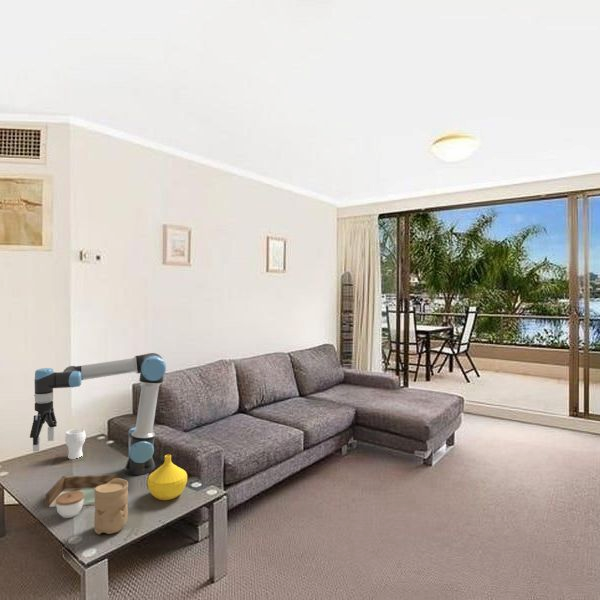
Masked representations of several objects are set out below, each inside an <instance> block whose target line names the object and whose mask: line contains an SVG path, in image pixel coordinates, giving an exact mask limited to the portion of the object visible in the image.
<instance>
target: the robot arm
mask: <svg viewBox="0 0 600 600" xmlns="http://www.w3.org/2000/svg"><path fill="white" fill-rule="evenodd" d="M166 371H167V365H166V362H165V360H164V359H163V357H162V356H161V355H160V354H158V353H155V352H151V353H149V352H148V353H145V354H139V355H134V357H133V358H132V357H131V358H126V359H125V358H124V359H119V360H118V359H117V360H113V361H112V360H111V361H106V362H105V361H104V362H97V363H91V364H84V365H76V366H75V365H70V366H68V367H65V369H63V371H59V372H56V371H55V372H54V369H53V368H51V367H44V368H39V369H36V370H35V371H34V379H33V380H34V394H33V396H34V402H35V403H34V411H35V412H37V414H36V415H34V416H33V420H32V425H31V429H30V434H29V438H30V439H32V452H35V453H36V452H41V436H40V433H41V432H42V429H43V425H44V424H45V423H46V424H47V426H48V427H47V441H49V442H53V441H55V427H57V419H56V416H55V411H54V389H64V388H77V387H80V386H81V385H82V381H86V380H90V379H91V380H92V379H98V378H106V377H111V376H119V375H125V374H132V373H135V374H137V375H138V374H139V382H140V383H141V388H140V389H141V390H140V395H139V400H138V401H139V403H138V407H137V416H136V422H135V427H131V428H130V429H129V430H128V456H127V460H126V463H125V465H124V472H125V474H127V475H129V476H141V475H145V474H148V473H150V472H151V473H152V471H153V470H155V461H154V459H153V455H154V452H155V446H154V444H155V439H156V433H155V432H154V424H155V416H156V410H157V409H156V408H157V404H158V396H159V390H160V389H159V388H160V385H162V384H163V382H164V378H165V374H166Z"/></svg>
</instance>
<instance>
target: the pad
mask: <svg viewBox="0 0 600 600" xmlns="http://www.w3.org/2000/svg"><path fill="white" fill-rule="evenodd" d="M80 492H83V493H84V501H83V503H95V488H84V489H81V490H80Z"/></svg>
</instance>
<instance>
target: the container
mask: <svg viewBox="0 0 600 600" xmlns="http://www.w3.org/2000/svg"><path fill="white" fill-rule="evenodd" d="M128 488H129V481H128V480H126V479H124V478H120V477H118V478H116V479H112V480H111V481H110V482H108V483H107V484H104V485H100V486H98V487H96V488H95V505H94V522H93V523H94V532H95V533H96V534H97V535H99V536H100V535H102V533H105V534H106V535H112V534H116V533H118V532H119V531H121V529H123V527H124V526H125V525H126V523H127V522H128V517H129V509H128V508H129V505H128V500H129V490H128Z"/></svg>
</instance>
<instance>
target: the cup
mask: <svg viewBox="0 0 600 600" xmlns="http://www.w3.org/2000/svg"><path fill="white" fill-rule="evenodd" d="M86 437H87V436H86V430H85V429H84V428H74V429H69V430H67V431H66V432H65V436H64V441H65V445H66V447H68V454H67V459H68V458H69V459H68V460H77V459H76V458H78V459H80V458H79V457H81V456H82V457H83V455H84V453H83V445H84V444H85V441H86ZM82 457H81V458H82Z"/></svg>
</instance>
